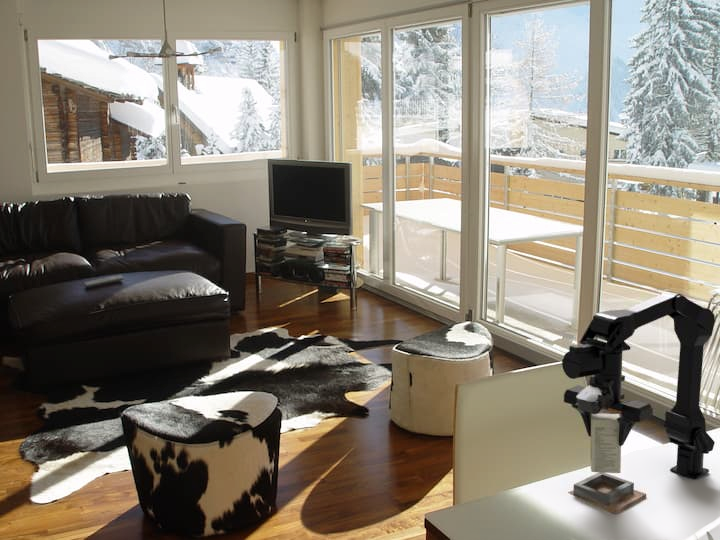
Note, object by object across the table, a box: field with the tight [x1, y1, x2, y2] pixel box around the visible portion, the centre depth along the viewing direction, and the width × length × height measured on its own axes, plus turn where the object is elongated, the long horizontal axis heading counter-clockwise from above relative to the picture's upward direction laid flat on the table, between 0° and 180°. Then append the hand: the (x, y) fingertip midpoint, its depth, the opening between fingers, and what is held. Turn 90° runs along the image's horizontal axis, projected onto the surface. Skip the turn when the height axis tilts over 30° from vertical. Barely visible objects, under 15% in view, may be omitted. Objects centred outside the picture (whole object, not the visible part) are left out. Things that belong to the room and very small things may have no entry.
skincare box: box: [589, 412, 622, 474], centre depth 178 cm, size 6×4×12 cm
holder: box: [567, 472, 647, 515], centre depth 180 cm, size 12×12×3 cm
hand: (605, 440), depth 178 cm, fingers closed on skincare box, 7 cm apart
